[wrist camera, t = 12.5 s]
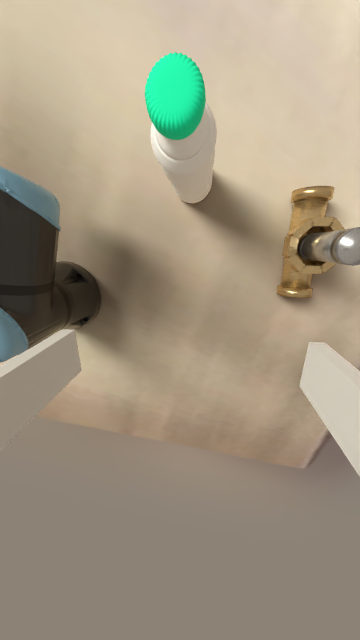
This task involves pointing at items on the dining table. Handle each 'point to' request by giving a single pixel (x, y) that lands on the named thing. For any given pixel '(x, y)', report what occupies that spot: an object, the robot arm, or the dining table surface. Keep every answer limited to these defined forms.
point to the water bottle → (181, 126)
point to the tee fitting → (303, 222)
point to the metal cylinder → (332, 246)
